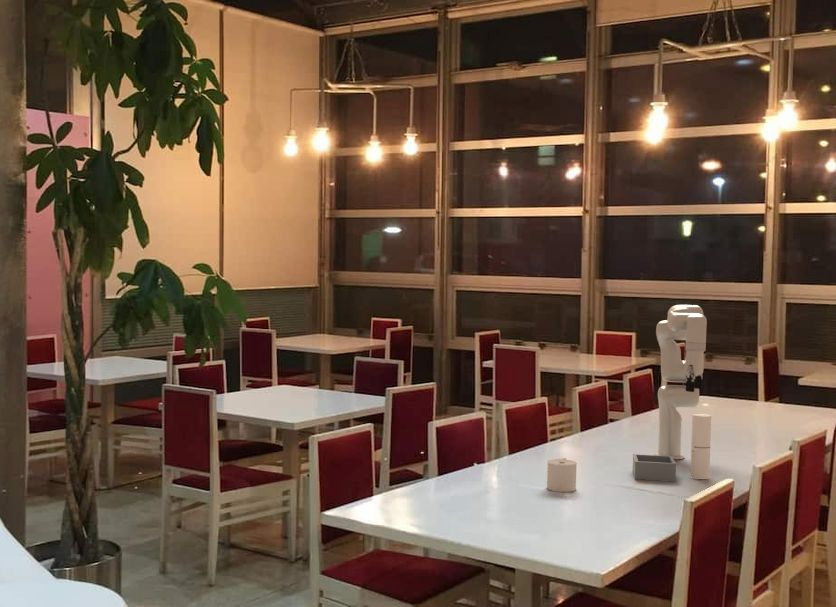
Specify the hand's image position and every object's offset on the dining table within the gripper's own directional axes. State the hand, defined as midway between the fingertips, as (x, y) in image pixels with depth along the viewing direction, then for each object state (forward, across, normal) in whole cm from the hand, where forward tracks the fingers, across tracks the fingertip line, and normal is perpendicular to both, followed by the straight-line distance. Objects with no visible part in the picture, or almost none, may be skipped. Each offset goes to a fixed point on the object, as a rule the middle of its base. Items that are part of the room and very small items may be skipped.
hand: (693, 390), depth 374 cm
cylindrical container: (+35, -2, +3) cm, 35 cm away
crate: (+35, +7, -13) cm, 38 cm away
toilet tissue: (+35, +49, -33) cm, 69 cm away
